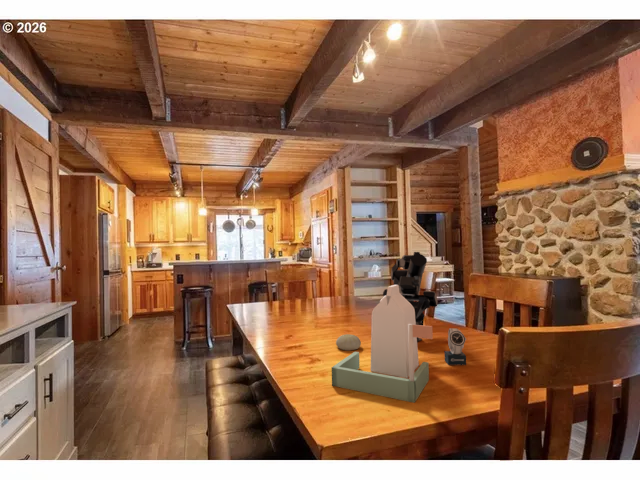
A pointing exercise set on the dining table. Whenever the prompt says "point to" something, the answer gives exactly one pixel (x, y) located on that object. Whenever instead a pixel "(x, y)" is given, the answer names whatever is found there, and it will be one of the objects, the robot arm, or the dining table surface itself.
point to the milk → (392, 335)
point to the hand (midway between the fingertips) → (405, 317)
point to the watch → (455, 348)
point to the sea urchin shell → (348, 342)
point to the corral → (385, 385)
